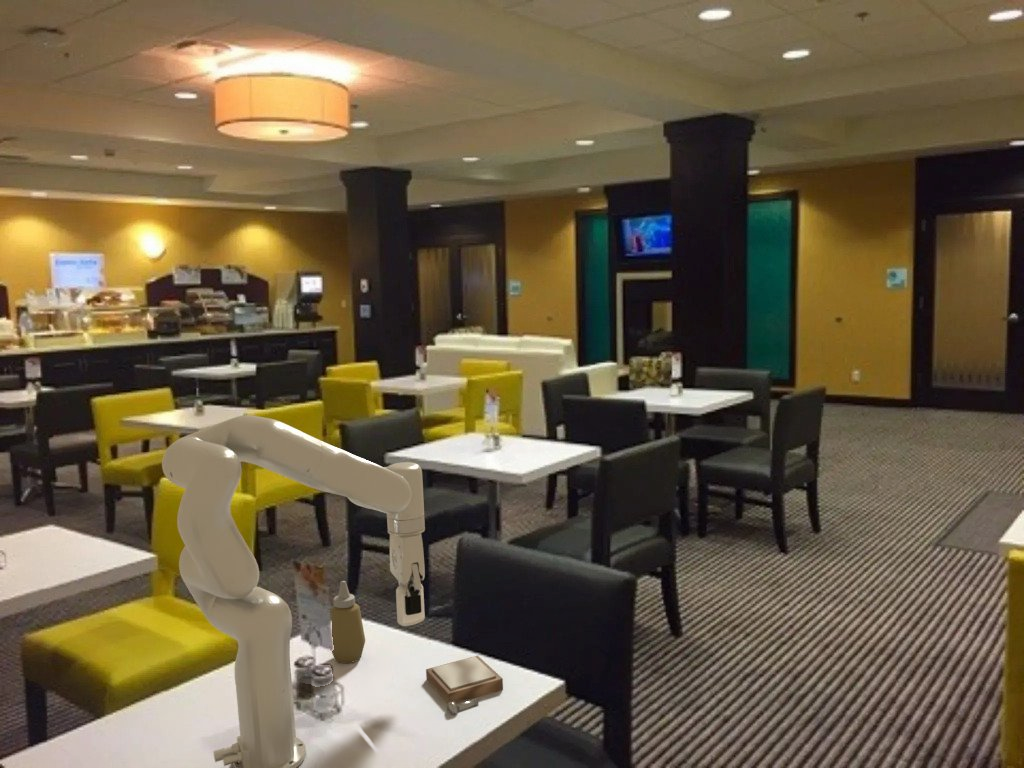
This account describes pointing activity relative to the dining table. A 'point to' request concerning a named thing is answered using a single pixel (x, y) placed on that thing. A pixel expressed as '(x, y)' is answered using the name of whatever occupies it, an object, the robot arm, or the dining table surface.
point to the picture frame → (464, 679)
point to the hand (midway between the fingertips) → (410, 609)
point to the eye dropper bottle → (401, 612)
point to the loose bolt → (461, 706)
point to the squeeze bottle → (346, 627)
